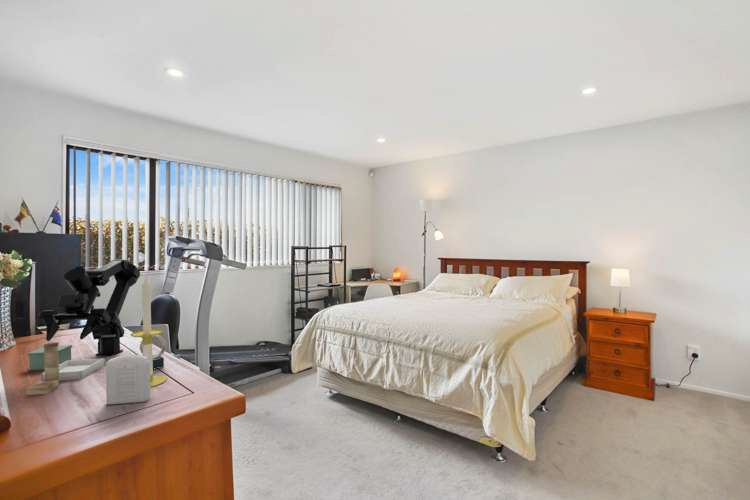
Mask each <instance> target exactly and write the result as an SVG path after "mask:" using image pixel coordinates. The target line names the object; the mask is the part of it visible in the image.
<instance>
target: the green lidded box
mask: <svg viewBox="0 0 750 500" xmlns="http://www.w3.org/2000/svg"><path fill="white" fill-rule="evenodd" d="M72 348H73V344H68V345H67V344H66V345H64V344H63V345H58V357H59V365H60V364H62V363H64V362H66V361H68V360H72ZM27 356H28V358H29V370H30V371H36V370H37V371H39V370H45V365H44V346H42V347H40V348H38V349H37V348H36V349H35V350H33V351H30V352H27Z"/></svg>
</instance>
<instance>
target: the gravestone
mask: <svg viewBox="0 0 750 500" xmlns="http://www.w3.org/2000/svg"><path fill="white" fill-rule="evenodd" d="M105 373H106V374H105V378H106V379H105V381H106V383H105V385H106V386H105V387H106V388H105V389H106V390H105V391H106V392H105V393H106V394H105V395H106V404H107V405H118V404H131V403H142V402H147V400H148V401H149V400H150V399H151V387H150V359H149V357H146V356H143V355H142V354H141V355H140V354H125V355H120V356H117V357H113V358H111V359H109V360H108V361H107V363H106V367H105Z"/></svg>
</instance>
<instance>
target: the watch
mask: <svg viewBox="0 0 750 500" xmlns="http://www.w3.org/2000/svg"><path fill="white" fill-rule="evenodd" d="M152 338H154V340H155V342H156V343H157V344H158V346H160V347H161V350H160V352H159V353H157V354H155V355H152V358H153V369H154V368H157V367H162V366H165V363H164V362H165V360H164V358H165V357H163V355H164V354H165V352H166V350H167V346H168V343H167V341H166V340H165V339H164V337H162V335H161V334H158V335H154V336H152ZM139 351H140V353H141V355H143V339H142V340H141V342H140V344H139ZM162 368H163V367H162ZM154 370H155V369H154Z"/></svg>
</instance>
